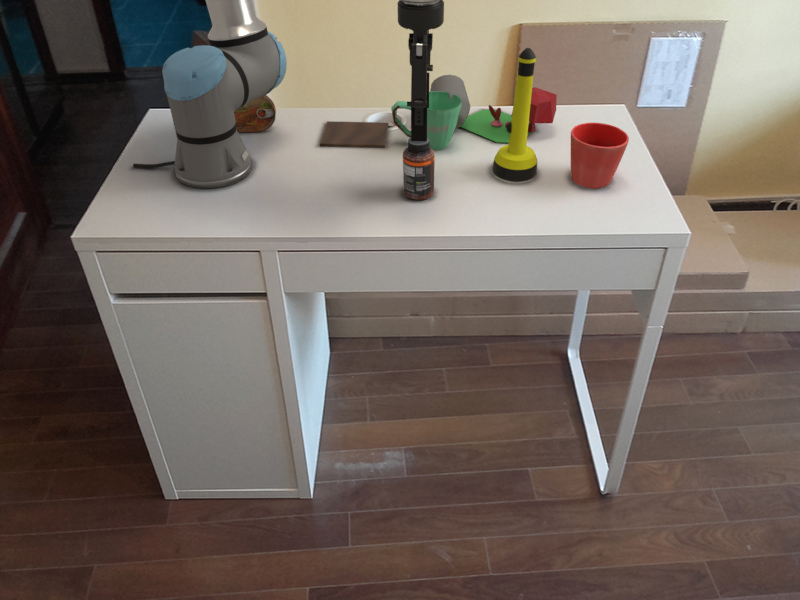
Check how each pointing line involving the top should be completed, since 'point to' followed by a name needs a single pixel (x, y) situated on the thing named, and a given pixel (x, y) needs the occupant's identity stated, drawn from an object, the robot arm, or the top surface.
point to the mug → (435, 118)
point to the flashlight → (519, 130)
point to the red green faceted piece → (496, 122)
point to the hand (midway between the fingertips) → (420, 123)
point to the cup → (456, 87)
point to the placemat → (355, 134)
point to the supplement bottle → (418, 170)
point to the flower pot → (596, 153)
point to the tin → (255, 115)
